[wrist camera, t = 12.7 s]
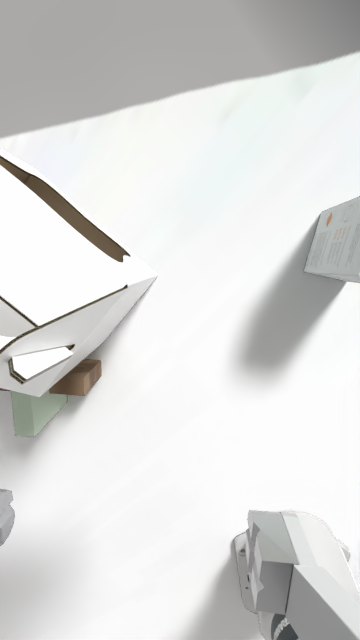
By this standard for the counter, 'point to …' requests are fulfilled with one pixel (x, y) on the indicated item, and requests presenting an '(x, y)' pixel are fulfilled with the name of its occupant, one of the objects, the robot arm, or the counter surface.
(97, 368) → the upright
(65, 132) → the counter surface
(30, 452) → the counter surface
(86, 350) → the gable box
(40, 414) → the crosspiece
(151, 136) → the counter surface
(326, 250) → the small box
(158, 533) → the counter surface
